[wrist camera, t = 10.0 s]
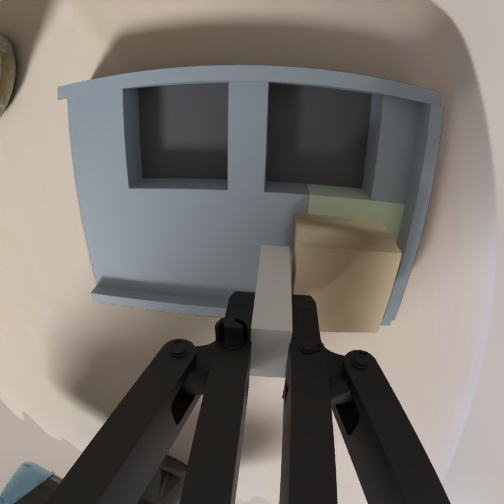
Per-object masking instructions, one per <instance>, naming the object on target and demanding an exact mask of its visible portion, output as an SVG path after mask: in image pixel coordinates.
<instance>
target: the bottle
mask: <svg viewBox="0 0 504 504" xmlns="http://www.w3.org/2000/svg"><path fill="white" fill-rule="evenodd" d="M15 72H16V63H15V56H14V52H13V46H12V45H11V44H10V40H8V39H7V38H6V37H5V36H3V35H2V34H0V117H1V116H2V114H3V113H4V111H5V109H6V107H7V104H8V102H9V99H10V97H11V94H12V90H13V87H14V84H15V83H14V82H15V77H16V75H15Z"/></svg>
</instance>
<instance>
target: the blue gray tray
mask: <svg viewBox="0 0 504 504" xmlns="http://www.w3.org/2000/svg"><path fill="white" fill-rule="evenodd" d="M441 94H442V93H441V92H438V91H434V90H430V89H426V88H422V87H418V86H414V85H410V84H406V83H401V82H397V81H392V80H387V79H382V78H377V77H371V76H365V75H359V74H353V73H346V72H338V71H330V70H322V69H312V68H300V67H286V66H265V65H212V66H192V67H177V68H166V69H156V70H148V71H140V72H132V73H126V74H119V75H113V76H107V77H102V78H97V79H92V80H87V81H82V82H78V83H73V84H69V85H65V86H61V87H58V100H62V99H68V118H69V131H70V143H71V152H72V161H73V169H74V177H75V184H76V190H77V196H78V202H79V208H80V214H81V219H82V224H83V229H84V234H85V239H86V244H87V248H88V252H89V257H90V261H91V265H92V269H93V273H94V277H95V281H96V284H97V286H96V287H95V288H94V290H93V291H92V292H91V296H92V299H93V302H97V303H103V304H110V305H117V306H124V307H131V308H139V309H146V310H154V311H163V312H171V313H180V314H190V315H199V316H210V317H221V318H224V317H225V313H226V309H227V305H228V301H229V297H230V296H231V295H232V294H233V293H234V292H235V291H242V292H255V293H256V285H257V277H258V269H259V261H260V253H261V245H274V246H289V247H290V266H291V256H292V246H293V235H294V224H295V213H298V214H313V215H326V216H339V217H351V218H363V219H374V220H380V221H381V222H382V224H383V225H384V227H385V228H386V230H387V231H388V233H389V234H390V236H391V237H392V239H393V240H394V242H395V243H396V245H397V246H398V248H399V249H400V251H401V252H402V256H401V260H400V263H399V267H398V270H397V274H396V277H395V281H394V284H393V287H392V291H391V294H390V297H389V300H388V304H387V307H386V310H385V313H384V316H383V319H382V322H381V324H380V325H390V323H391V320H395V317H396V315H397V312H398V309H399V306H400V303H401V300H402V298H403V295H404V292H405V288H406V285H407V282H408V279H409V276H410V273H411V269H412V266H413V263H414V259H415V256H416V252H417V249H418V245H419V241H420V237H421V234H422V230H423V226H424V221H425V217H426V213H427V209H428V204H429V200H430V195H431V190H432V185H433V180H434V174H435V169H436V163H437V157H438V150H439V144H440V137H441V129H442V120H443V111H444V107H440V106H441Z"/></svg>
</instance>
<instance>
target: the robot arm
mask: <svg viewBox="0 0 504 504" xmlns="http://www.w3.org/2000/svg"><path fill="white" fill-rule="evenodd" d="M215 333H216V341H214V342H213V343H211V344H208V345H204V346H196V347H195V346H194V345H193V344H192V342H190V341H188V340H184V339H175V340H172V341H169V342H167V343H166V344H165V345H164V346H163V347H162V349H161V350H160V351H159V352H158V354H157V355H156V356H155V358H154V359H153V360H152V362H151V363H150V364H149V365H148V367H147V368H146V369H145V371H144V372H143V373H142V375H141V376H140V377H139V379H138V380H137V381H136V383H135V384H134V385H133V386H132V388H131V389H130V390H129V392H128V393H127V394H126V396H125V397H124V398H123V400H122V401H121V402H120V404H119V405H118V406H117V408H116V409H115V410H114V411H113V413H112V414H111V415H110V417H109V418H108V419H107V421H106V422H105V423H104V425H103V426H102V427H101V429H100V430H99V431H98V433H97V434H96V435H95V437H94V438H93V439H92V441H91V442H90V443H89V445H88V446H87V447H86V449H85V450H84V451H83V453H82V454H81V455H80V457H79V458H78V460H77V461H76V462H75V464H74V465H73V466H72V468H71V469H70V470H69V472H68V473H67V474H66V476H65V477H64V478H63V479H62V478H60V477H58V476H57V475H55V474H54V472H50V471H48V470H46V469H44V468H43V467H41V466H39V465H37V464H35V463H34V462H24V463H23V464H22V465H21V466H20V467H19V468H18V469H17V471H16V472H15V474H14V475H13V476H12V478H11V479H10V481H9V482H8V484H7V485H6V487H5V488H4V490H3V491H2V493H1V496H0V504H235V498H236V490H237V481H238V473H239V465H240V457H241V449H242V440H243V432H244V423H245V415H246V406H247V397H248V388H249V375H252V376H266V377H282V378H285V385H284V391H283V396H282V398H284V407H283V438H282V462H281V483H280V501H279V504H337V483H336V464H335V448H334V435H333V422H332V411H333V413H334V416H335V418H336V421H337V423H338V426H339V429H340V431H341V434H342V436H343V439H344V442H345V444H346V447H347V449H348V452H349V455H350V457H351V460H352V463H353V465H354V468H355V470H356V473H357V476H358V478H359V481H360V484H361V486H362V489H363V492H364V494H365V497H366V500H367V502H368V504H450V501H449V499H448V497H447V495H446V493H445V491H444V488H443V486H442V484H441V482H440V480H439V478H438V476H437V474H436V472H435V470H434V468H433V466H432V464H431V462H430V460H429V458H428V456H427V454H426V452H425V450H424V448H423V446H422V444H421V442H420V440H419V438H418V436H417V434H416V432H415V430H414V429H413V427H412V425H411V423H410V421H409V419H408V417H407V415H406V413H405V412H404V410H403V408H402V406H401V404H400V402H399V401H398V399H397V397H396V395H395V393H394V391H393V390H392V388H391V386H390V384H389V382H388V381H387V379H386V377H385V375H384V373H383V372H382V370H381V368H380V366H379V365H378V363H377V361H376V359H375V358H374V357H373V356H372V355H371V354H369V353H368V352H366V351H362V350H353V351H350V352H348V353H347V354H346V355H345V356H343V355H339V354H336V353H333V352H331V351H329V350H328V349H326V348H325V347H324V345H323V343H322V342H321V339H320V330H319V322H318V314H317V306H316V302H315V300H314V299H313V298H312V296H311V295H296V294H291V270H290V247H289V246H274V245H261V253H260V261H259V269H258V277H257V285H256V293H255V292H242V291H235V292H234V293H233V294H232V295H231V296H230V297H229V301H228V305H227V309H226V313H225V317H224V318H222V319H220V320H219V321H218V322H217V323H216V325H215ZM201 394H204V395H203V399H202V404H201V408H200V412H199V417H198V421H197V426H196V430H195V435H194V439H193V443H192V448H191V452H190V457H189V461H188V466H185V465H184V464H182V463H180V462H178V461H176V460H174V459H172V458H170V457H167V456H166V454H167V453H168V451H169V449H170V448H171V446H172V444H173V443H174V441H175V439H176V437H177V436H178V434H179V432H180V431H181V429H182V427H183V425H184V424H185V422H186V420H187V419H188V417H189V415H190V413H191V412H192V410H193V408H194V406H195V405H196V403H197V401H198V400H199V398H200V396H201ZM331 408H332V410H331Z"/></svg>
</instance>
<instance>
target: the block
mask: <svg viewBox="0 0 504 504" xmlns="http://www.w3.org/2000/svg"><path fill="white" fill-rule="evenodd" d="M401 256H402V252H401V251H400V249H399V248H398V246H397V245H396V243H395V242H394V240H393V239H392V237H391V236H390V234H389V233H388V231H387V230H386V228H385V227H384V225H383V224H382V222H381V221H380V220H374V219H363V218H351V217H339V216H326V215H313V214H298V213H295V224H294V235H293V246H292V256H291V266H290V270H291V294H296V295H311V296H312V298H313V299H314V300H315V302H316V306H317V314H318V322H319V330H320V331H322V332H373V333H378V330H379V327H380V324H381V322H382V319H383V316H384V313H385V310H386V307H387V304H388V300H389V297H390V294H391V291H392V287H393V284H394V281H395V277H396V274H397V270H398V267H399V263H400V260H401Z"/></svg>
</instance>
